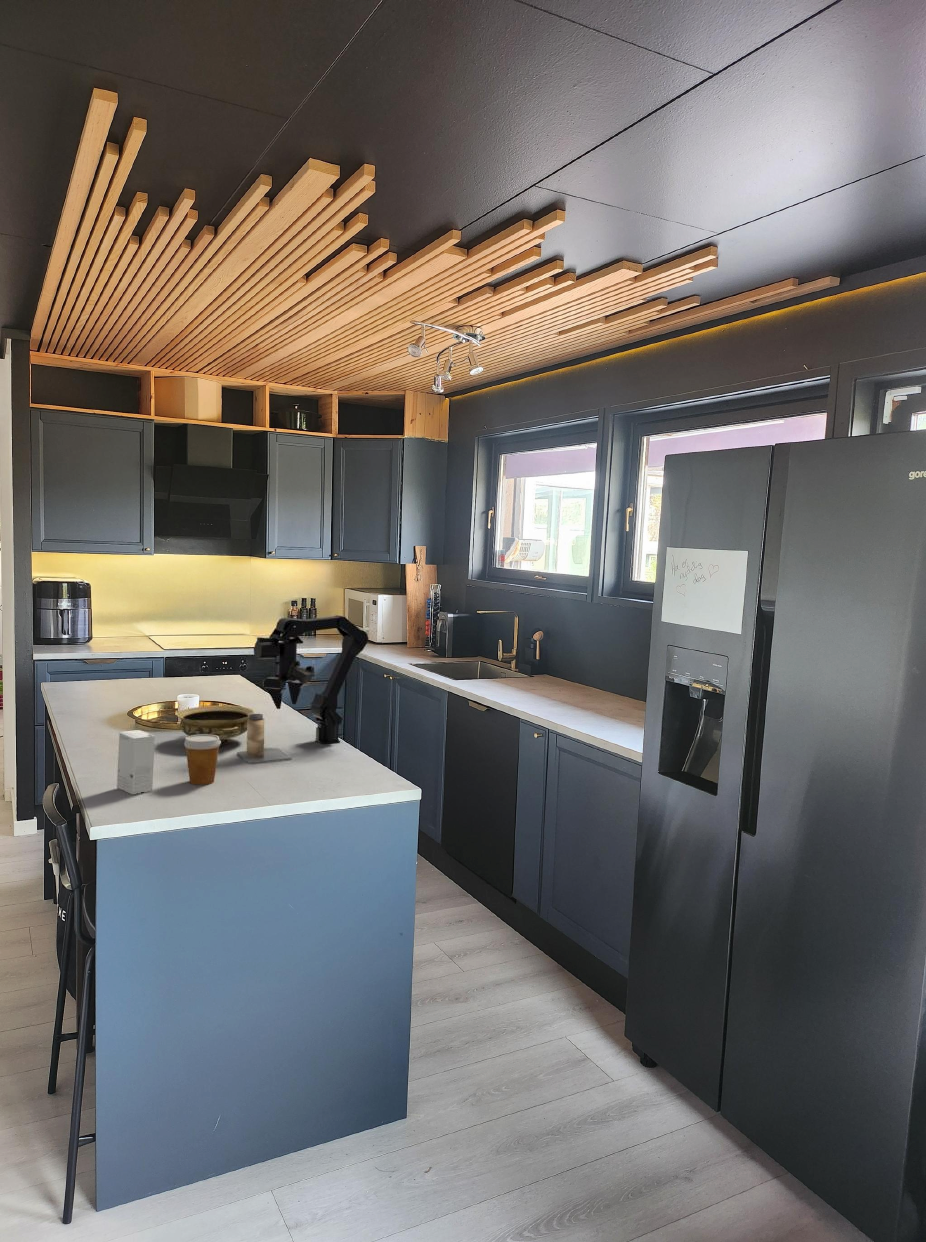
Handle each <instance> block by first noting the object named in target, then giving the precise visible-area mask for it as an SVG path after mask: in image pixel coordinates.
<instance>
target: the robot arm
mask: <svg viewBox="0 0 926 1242" xmlns="http://www.w3.org/2000/svg"><path fill="white" fill-rule="evenodd" d="M332 629H335V630H337V632H338V634H339V635H340V636H341V637H343V638H342V641H341V653H340V655H339V657H338V659H337V662H336V663H335V666H334V668H333V670H332V671H331V674H330V677H329V680H328V682H327V683H326V686H325V688H324V690H323V691H322V692H321V693H317V692H316V693H315V694H314V697H313V700H312V701H311V702H310V705H311V707H310V711H311V712H310V713H311V714H312V716H313V717H314V719H315V721H316V722H317V727H316V728H315V741H317V742H319V743H320V744H322V745H323V744H326V745H327V744H335V743H336V744H337V743H341V740H340V739H339V731H340V725H341V724H342V722H343V717H342V716H340V714H339V713H338V712H337V709H338V698H339V697H338V696H339V693H340V692H341V691H342V687H343V685H344V683H345V681H346V679H347V677H348V674H349V673H350V670H351V667H352V665H353V663H354V661H355V659H356V657H357V656H358V655H359V654H360V653H362V652H363V650H364V649H365V647H366V646H367V645H368V642H369V635H368V633H367V632H366V631H365V630H362V629H360V628H359V627H358V626H357V625H355V624H354V623H352V622H351V621H350V620H349V619H348V618H347V617H345V616H343V615H334V616H325V617H316V618H308V619H307V618H305V619H302V618H300V619H299V618H291V617H283V618H280V619H279V620H278V621H277V622H276V626H275V627H274V630H273V631H272V632H271V634H270V635H269V637H262V636H259V637H258V636H257V637H256V641H255V643H254V646H253V654H254V658H255V659H256V660H270V659H271V660H272V659H276V658H277V660H275V661H274V663H275V665H277V673H275V674H274V676H270V677H266V678H264V679H263V681H262V687H263V688H265V690H267V692H268V693H269V696H270V697H271V699H272V701H273V703H274V705H275V708H276V709H277V710H280V709H281V706H282V699H283V694H284V692H285V691H286V689H287V688H286V685H287V687H288V691H289V695H290V700H291V704H292V705H296V704H297V702H298V698H299V697H300V696H299V695H300V694H301V693H300V692H301V690H302V688H303V687H304V686H305V685H307V684H308V683H311V681H312V678H314V677H315V667H314V666H313V665H308V666H307V667H303V666H301V662H300V660H297V659H298V658H297V653H298V652H297V651H298V650H297V648H298V645H299V644H300V645H301V644H304V641H303V640H302V639H301V638H300V637H299V636H301V635H304V634H306V633H310V632H316V631H324V630H332ZM339 740H340V741H339Z"/></svg>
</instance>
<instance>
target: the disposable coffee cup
mask: <svg viewBox="0 0 926 1242" xmlns="http://www.w3.org/2000/svg"><path fill="white" fill-rule="evenodd" d="M220 744H221V741H220V739H219V737H218V736H216V735H209V734H200V735H192V736H188V735H187V736H186V738H185V740H184V742H183V745H184V747H185V752H186V761H187V767H188V768H187V769H188V776H189V777H188V778H189V783H190V784H191V783H192V784H191V785H195V784H196V785H197V786H201V785H202V786H205V785H209V784H212V783H214V782H215V778H216V770H217V765H218V756H219V750H220V749H219V748H220V746H221V745H220Z"/></svg>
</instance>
